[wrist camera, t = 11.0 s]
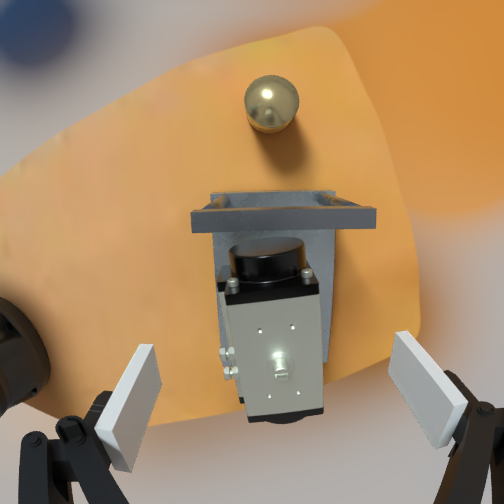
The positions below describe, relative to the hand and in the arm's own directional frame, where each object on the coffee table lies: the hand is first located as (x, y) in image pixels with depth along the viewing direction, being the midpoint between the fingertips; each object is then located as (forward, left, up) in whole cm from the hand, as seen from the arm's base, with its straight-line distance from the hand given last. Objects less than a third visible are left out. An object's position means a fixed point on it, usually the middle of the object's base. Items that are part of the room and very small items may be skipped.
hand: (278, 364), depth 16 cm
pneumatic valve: (0, 0, -12) cm, 12 cm away
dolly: (0, 0, -14) cm, 14 cm away
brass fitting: (0, +15, -14) cm, 21 cm away
